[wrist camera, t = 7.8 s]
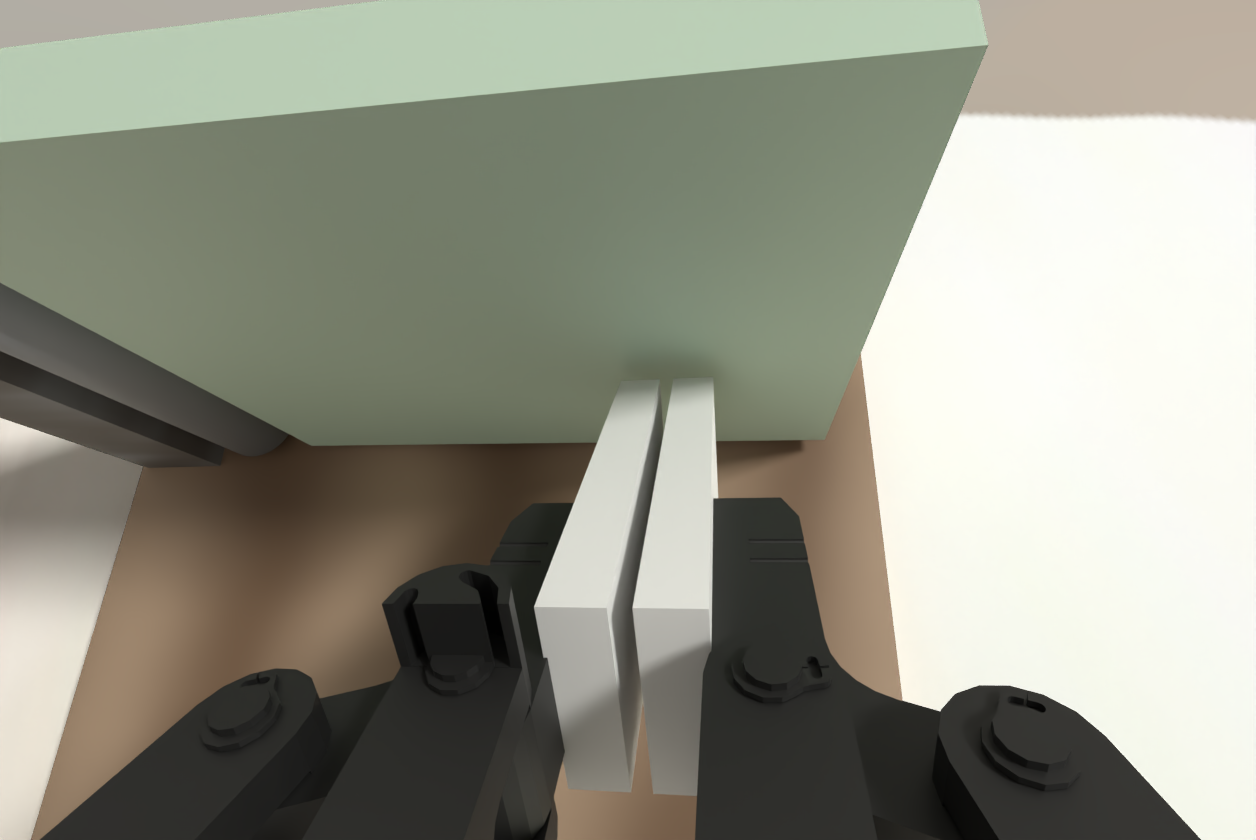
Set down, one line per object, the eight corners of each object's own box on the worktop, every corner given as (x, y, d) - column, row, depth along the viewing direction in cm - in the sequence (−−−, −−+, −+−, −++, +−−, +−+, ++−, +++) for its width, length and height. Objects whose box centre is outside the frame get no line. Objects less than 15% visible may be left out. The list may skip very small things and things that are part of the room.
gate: (217, 456, 18) (-414, 200, 8) (236, 386, 19) (-318, 73, 9) (825, 451, 16) (994, 69, 6) (819, 370, 17) (958, -93, 6)
